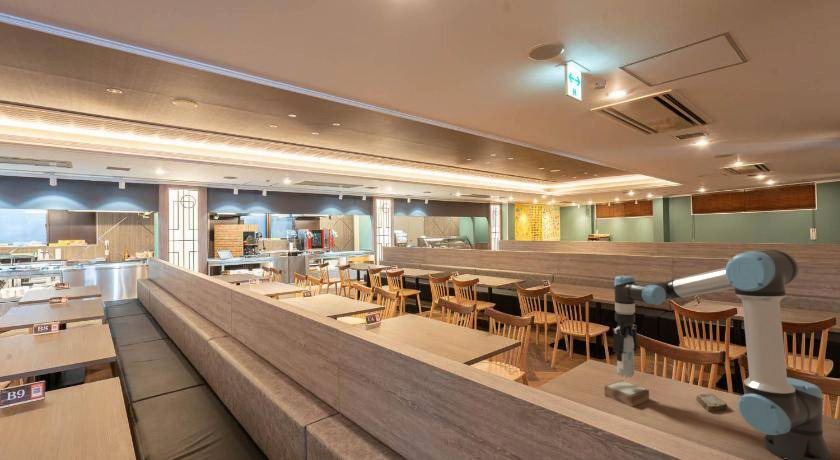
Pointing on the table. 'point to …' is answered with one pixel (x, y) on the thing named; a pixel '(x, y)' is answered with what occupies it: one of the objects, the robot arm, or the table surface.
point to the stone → (711, 403)
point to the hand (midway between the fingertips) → (625, 366)
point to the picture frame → (627, 393)
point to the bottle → (627, 357)
